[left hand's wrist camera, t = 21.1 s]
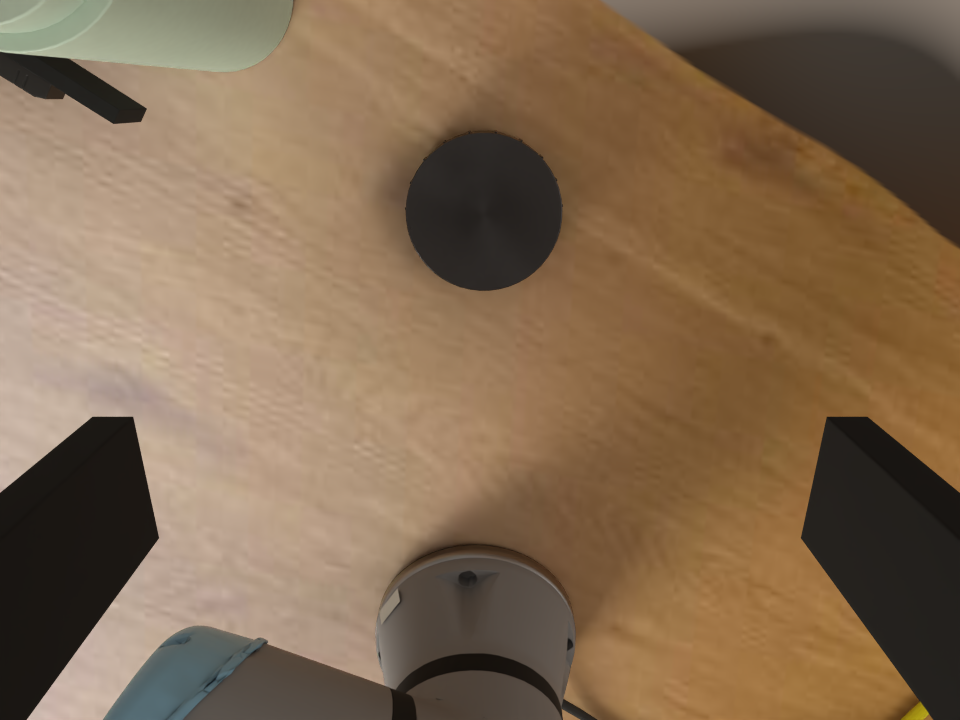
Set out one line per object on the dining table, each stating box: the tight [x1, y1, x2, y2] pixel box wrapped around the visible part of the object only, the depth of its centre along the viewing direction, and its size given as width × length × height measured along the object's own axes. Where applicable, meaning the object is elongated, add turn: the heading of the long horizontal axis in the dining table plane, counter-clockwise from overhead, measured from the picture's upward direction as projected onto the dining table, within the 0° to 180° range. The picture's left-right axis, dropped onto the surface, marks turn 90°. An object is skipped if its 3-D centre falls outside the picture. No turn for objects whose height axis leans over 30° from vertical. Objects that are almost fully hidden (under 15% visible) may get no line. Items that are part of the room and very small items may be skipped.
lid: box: [405, 130, 563, 291], centre depth 39 cm, size 9×9×2 cm
